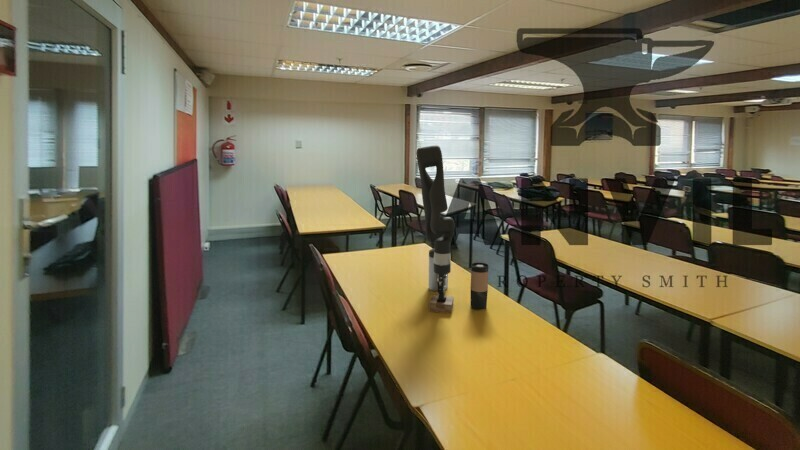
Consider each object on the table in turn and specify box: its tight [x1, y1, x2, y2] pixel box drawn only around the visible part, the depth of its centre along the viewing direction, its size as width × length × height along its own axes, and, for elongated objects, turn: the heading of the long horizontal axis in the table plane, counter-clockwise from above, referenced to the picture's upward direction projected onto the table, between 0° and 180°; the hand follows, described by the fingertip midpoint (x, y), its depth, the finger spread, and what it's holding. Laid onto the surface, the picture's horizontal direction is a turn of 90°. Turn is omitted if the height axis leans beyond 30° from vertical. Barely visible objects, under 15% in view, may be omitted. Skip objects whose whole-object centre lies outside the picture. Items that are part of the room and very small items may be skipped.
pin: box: [437, 288, 446, 302], centre depth 186 cm, size 3×3×10 cm
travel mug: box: [470, 262, 489, 311], centre depth 186 cm, size 8×8×20 cm
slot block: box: [428, 294, 455, 314], centre depth 186 cm, size 10×10×4 cm
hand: (441, 298), depth 186 cm, fingers open, 3 cm apart
